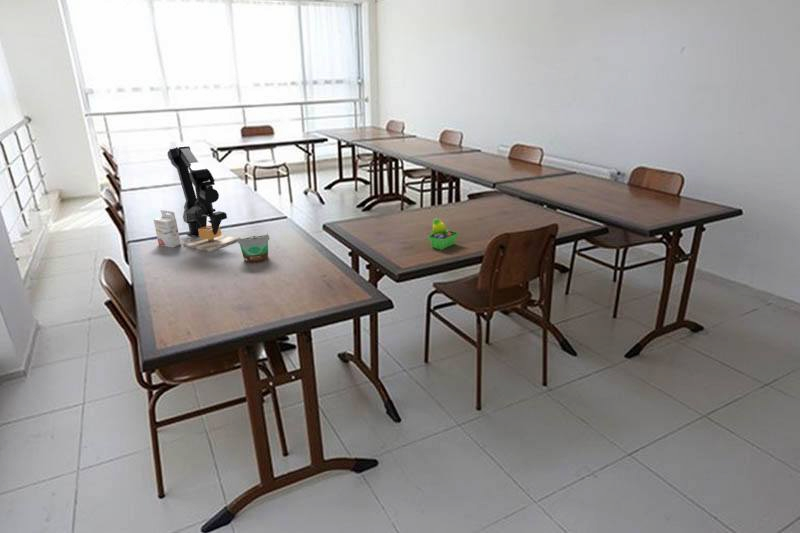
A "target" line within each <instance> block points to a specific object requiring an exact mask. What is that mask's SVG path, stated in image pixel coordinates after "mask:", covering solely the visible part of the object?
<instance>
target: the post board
mask: <svg viewBox="0 0 800 533" xmlns="http://www.w3.org/2000/svg"><path fill="white" fill-rule="evenodd" d="M210 229H212V227H207V228H206V230H210ZM236 242H238V237H234V236H233V237H232V236H227V235H224V234H221V236H219V237H216V238H213V239H211V240H208V239H203V238H200V237H198V238H195V239H193V240H189V241H187V242H184V243H183V246H185V247H188V248H192V249H196V250H200V251H205V252H212V251H215V250H217V249H220V247H221V248H223V247H225V245H226V246H229V245H231V244H234V243H236Z"/></svg>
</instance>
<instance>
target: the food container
mask: <svg viewBox="0 0 800 533" xmlns="http://www.w3.org/2000/svg"><path fill="white" fill-rule="evenodd" d="M237 238H238V241H237V244H238V245H239V247H240V249H241V254H242V257H243V261H244V262H245V263H248V264H258V263H262V262H266V261H267V260H268V259H269V240H270V238H271V237H270V235H269V234H268V232H267V233H266V234H264V235H263V234H262V235H253V236H248V237H246V238H240V237H237Z"/></svg>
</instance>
